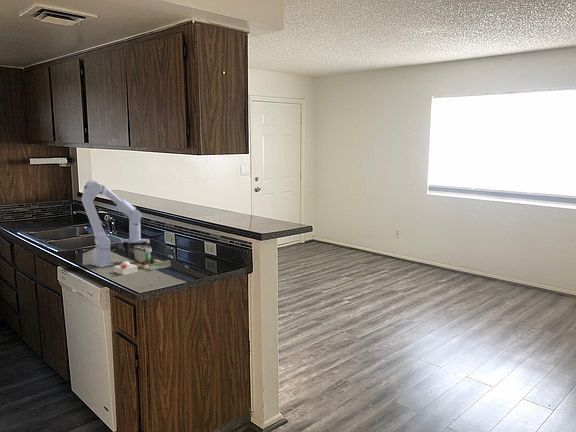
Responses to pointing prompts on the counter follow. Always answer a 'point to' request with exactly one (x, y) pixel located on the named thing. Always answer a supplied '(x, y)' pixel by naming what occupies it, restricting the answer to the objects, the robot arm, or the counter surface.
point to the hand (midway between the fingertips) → (135, 256)
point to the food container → (142, 254)
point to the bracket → (155, 265)
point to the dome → (127, 264)
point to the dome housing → (125, 269)
